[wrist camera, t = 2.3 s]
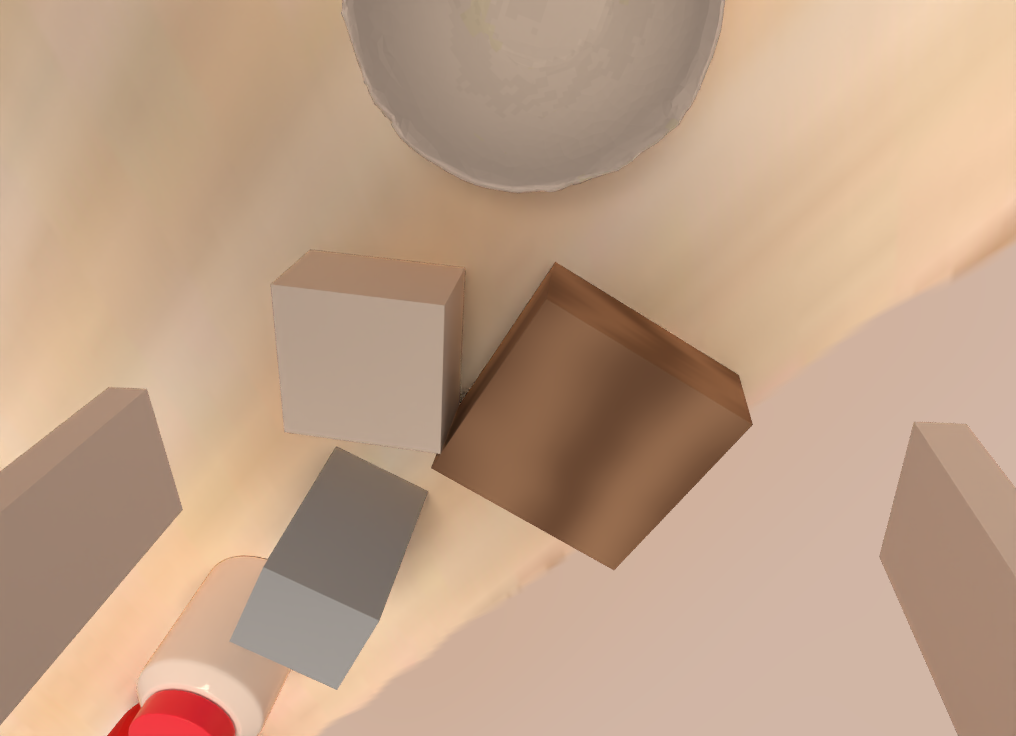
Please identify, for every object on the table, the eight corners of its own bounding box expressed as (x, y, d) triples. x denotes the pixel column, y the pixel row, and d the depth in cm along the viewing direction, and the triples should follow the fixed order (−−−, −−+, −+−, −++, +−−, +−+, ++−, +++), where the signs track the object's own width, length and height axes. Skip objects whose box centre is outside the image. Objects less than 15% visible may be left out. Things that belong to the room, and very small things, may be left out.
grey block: (320, 383, 41) (284, 431, 37) (312, 248, 37) (270, 284, 33) (460, 402, 41) (440, 453, 36) (466, 266, 37) (444, 305, 32)
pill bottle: (189, 599, 51) (89, 744, 42) (235, 536, 48) (137, 678, 38) (285, 655, 53) (208, 807, 43) (336, 597, 49) (266, 749, 39)
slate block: (304, 514, 46) (229, 641, 37) (336, 446, 43) (263, 566, 34) (390, 555, 47) (337, 689, 38) (428, 491, 44) (379, 620, 35)
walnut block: (451, 415, 41) (431, 467, 37) (556, 259, 36) (546, 298, 32) (615, 509, 43) (613, 570, 38) (737, 372, 38) (752, 424, 33)
